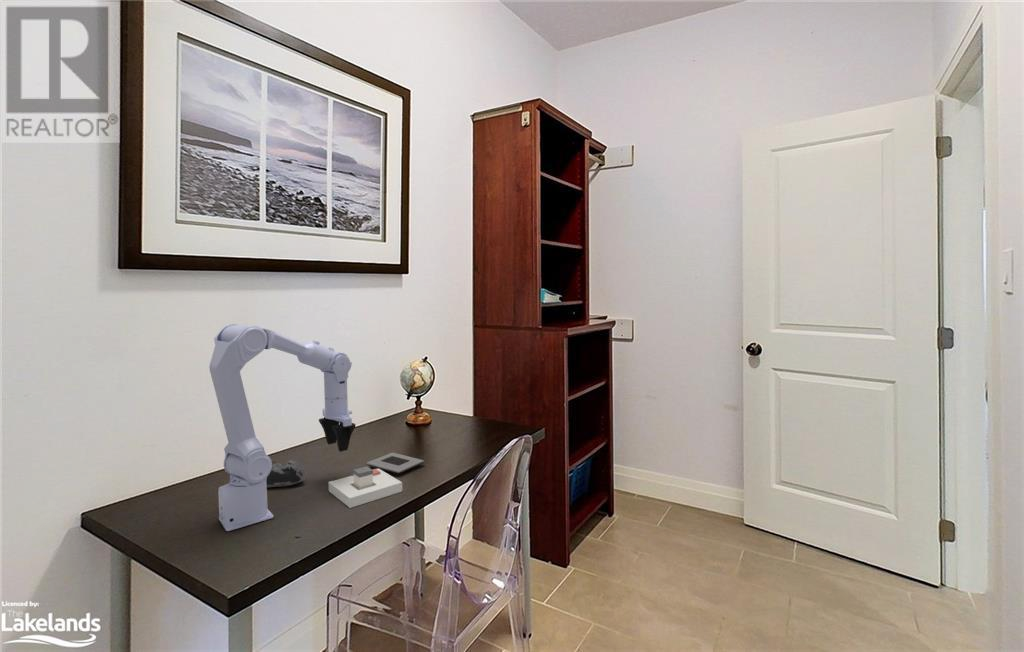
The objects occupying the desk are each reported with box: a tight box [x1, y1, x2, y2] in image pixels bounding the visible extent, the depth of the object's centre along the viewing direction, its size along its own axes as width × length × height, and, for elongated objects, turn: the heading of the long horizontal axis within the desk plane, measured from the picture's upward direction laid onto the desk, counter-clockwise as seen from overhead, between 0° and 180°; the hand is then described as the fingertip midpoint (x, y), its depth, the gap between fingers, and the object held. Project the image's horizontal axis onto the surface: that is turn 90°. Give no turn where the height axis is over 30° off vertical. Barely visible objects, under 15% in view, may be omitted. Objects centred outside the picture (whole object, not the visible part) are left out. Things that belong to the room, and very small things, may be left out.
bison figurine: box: [266, 459, 306, 488], centre depth 129 cm, size 12×7×10 cm
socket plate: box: [328, 468, 403, 509], centre depth 124 cm, size 14×13×3 cm
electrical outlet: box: [365, 452, 425, 475], centre depth 140 cm, size 13×10×2 cm
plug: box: [352, 465, 373, 490], centre depth 122 cm, size 4×4×6 cm
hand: (337, 446), depth 128 cm, fingers open, 7 cm apart
